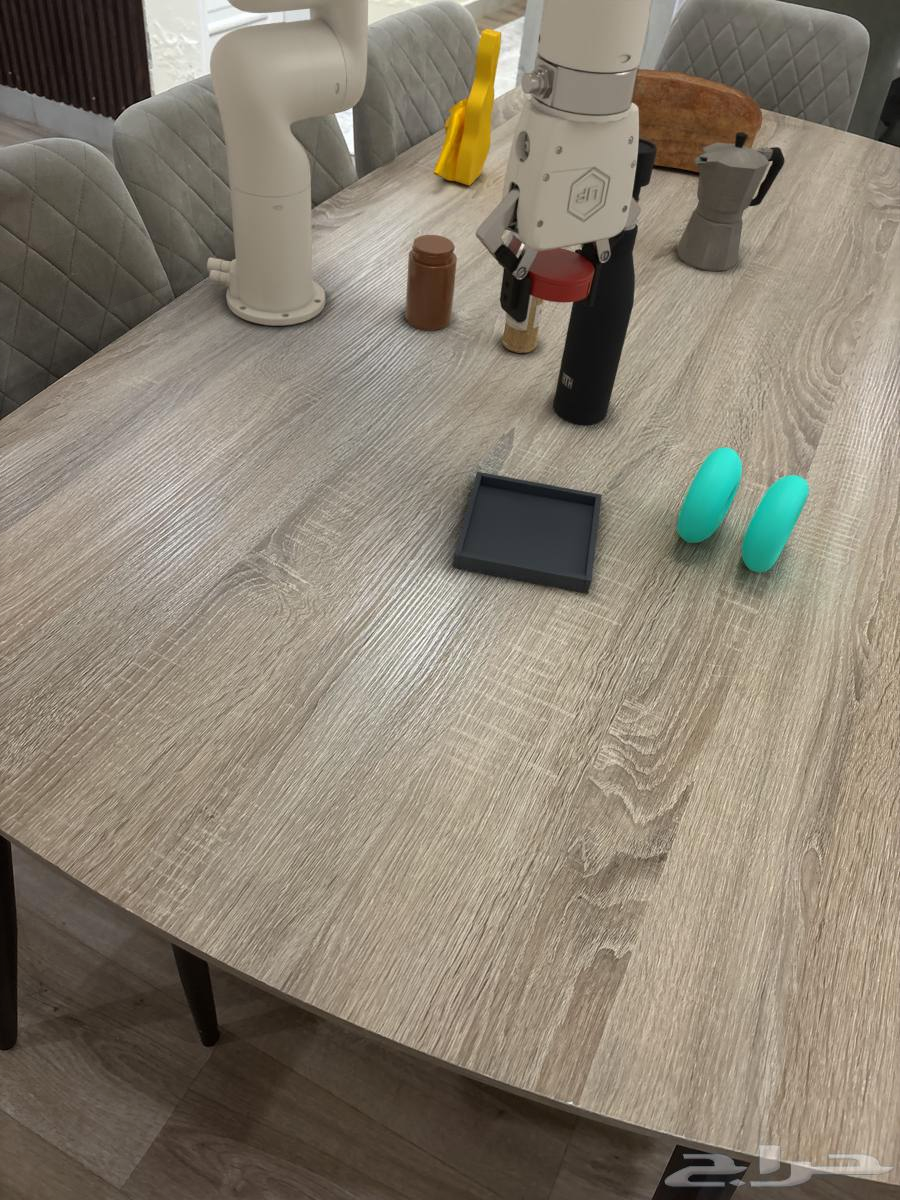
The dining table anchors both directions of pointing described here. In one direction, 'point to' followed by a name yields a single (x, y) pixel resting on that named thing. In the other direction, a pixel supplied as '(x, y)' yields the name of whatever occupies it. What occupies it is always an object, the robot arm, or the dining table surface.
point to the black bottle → (601, 323)
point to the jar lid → (560, 276)
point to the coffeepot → (725, 201)
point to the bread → (691, 115)
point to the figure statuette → (472, 119)
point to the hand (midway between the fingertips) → (547, 305)
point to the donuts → (714, 500)
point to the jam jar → (430, 282)
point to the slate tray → (529, 532)
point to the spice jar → (523, 326)
